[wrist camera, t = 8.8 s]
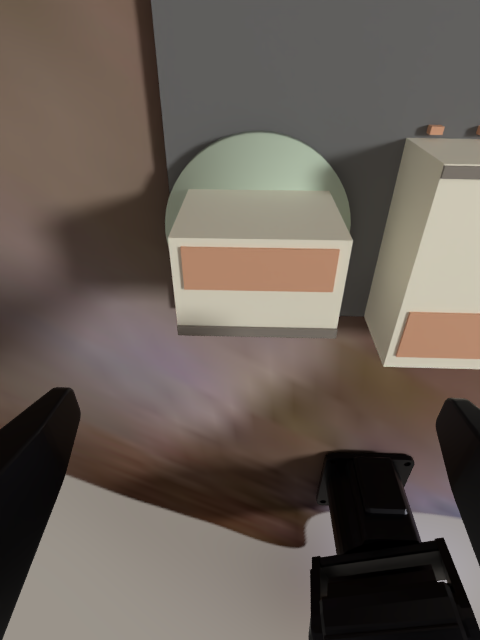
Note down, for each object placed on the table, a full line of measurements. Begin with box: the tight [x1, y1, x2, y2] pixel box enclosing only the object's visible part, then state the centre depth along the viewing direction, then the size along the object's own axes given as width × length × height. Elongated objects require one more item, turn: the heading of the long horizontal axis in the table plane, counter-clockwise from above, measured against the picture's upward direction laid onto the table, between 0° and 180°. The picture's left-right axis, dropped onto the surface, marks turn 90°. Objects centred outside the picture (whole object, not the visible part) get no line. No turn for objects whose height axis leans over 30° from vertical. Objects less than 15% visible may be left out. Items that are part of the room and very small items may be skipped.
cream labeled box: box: [364, 138, 480, 369], centre depth 17 cm, size 9×6×4 cm, turn 0°
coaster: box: [165, 130, 351, 247], centre depth 18 cm, size 8×8×1 cm
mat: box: [151, 0, 480, 316], centre depth 17 cm, size 17×21×1 cm
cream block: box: [168, 189, 353, 339], centre depth 16 cm, size 4×6×5 cm, turn 90°
